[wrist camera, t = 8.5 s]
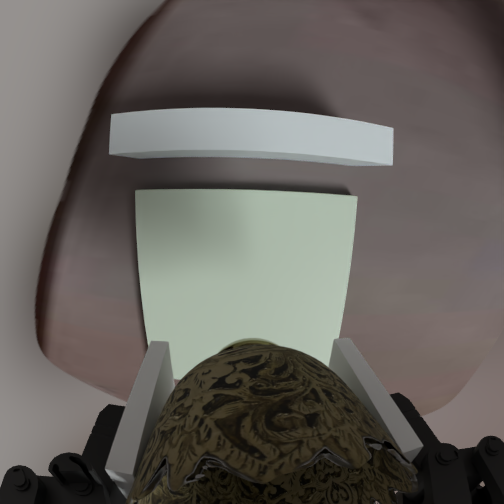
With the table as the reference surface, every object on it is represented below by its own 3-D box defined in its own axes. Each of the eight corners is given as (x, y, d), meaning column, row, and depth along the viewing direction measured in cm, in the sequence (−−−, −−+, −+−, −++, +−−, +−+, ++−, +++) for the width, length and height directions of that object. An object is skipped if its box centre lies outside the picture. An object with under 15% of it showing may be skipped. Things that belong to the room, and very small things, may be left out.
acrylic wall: (355, 137, 17) (393, 128, 13) (354, 166, 18) (392, 165, 13) (140, 128, 16) (111, 114, 11) (139, 158, 17) (109, 154, 12)
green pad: (352, 195, 18) (357, 196, 18) (327, 369, 22) (330, 375, 21) (139, 189, 17) (135, 190, 16) (155, 371, 21) (153, 377, 20)
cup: (138, 377, 12) (92, 527, 4) (226, 250, 10) (231, 432, 3) (265, 434, 13) (289, 562, 6) (362, 340, 12) (457, 471, 4)
